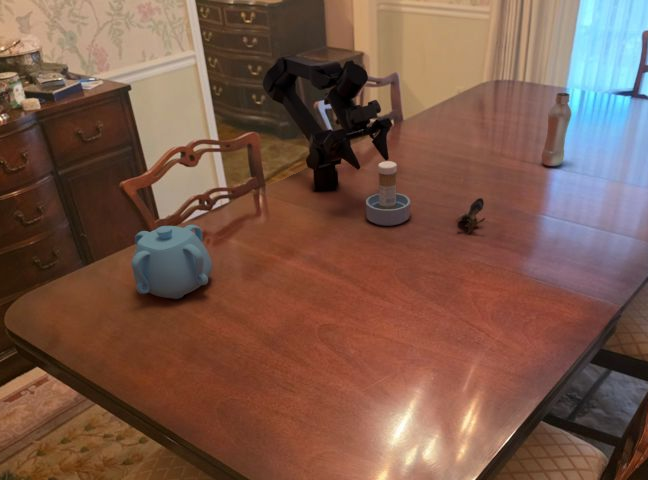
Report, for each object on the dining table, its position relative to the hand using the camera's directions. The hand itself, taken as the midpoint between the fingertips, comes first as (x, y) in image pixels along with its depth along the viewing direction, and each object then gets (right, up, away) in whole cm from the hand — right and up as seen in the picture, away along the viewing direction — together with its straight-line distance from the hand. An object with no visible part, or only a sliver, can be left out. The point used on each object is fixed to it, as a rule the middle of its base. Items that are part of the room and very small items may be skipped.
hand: (373, 164), depth 155 cm
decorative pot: (-44, -33, -20) cm, 58 cm away
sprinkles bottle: (+4, -12, +4) cm, 13 cm away
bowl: (+4, -13, +4) cm, 14 cm away
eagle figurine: (+24, -16, -2) cm, 29 cm away
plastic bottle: (+54, +9, +30) cm, 63 cm away
